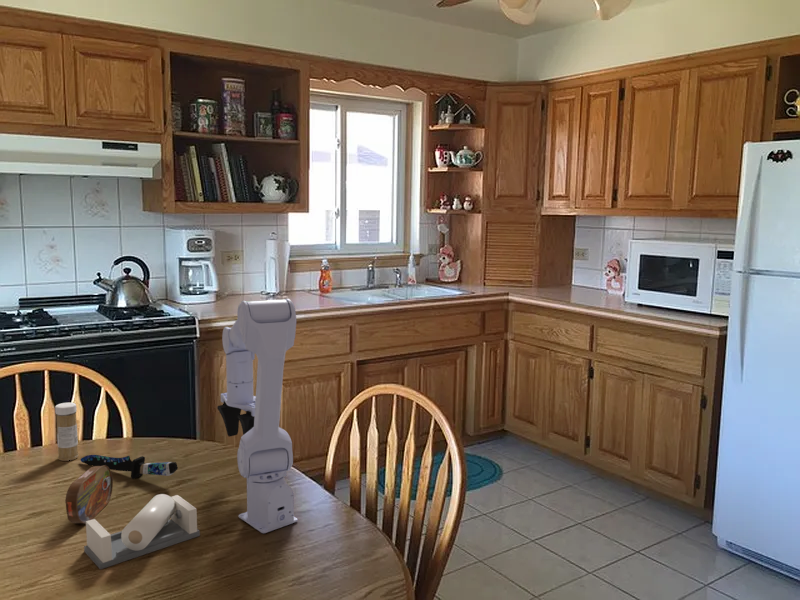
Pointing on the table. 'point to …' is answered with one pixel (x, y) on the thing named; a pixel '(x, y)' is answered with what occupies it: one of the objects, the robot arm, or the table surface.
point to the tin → (89, 494)
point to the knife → (132, 465)
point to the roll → (148, 522)
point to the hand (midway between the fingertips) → (241, 439)
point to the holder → (176, 530)
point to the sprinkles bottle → (67, 431)
